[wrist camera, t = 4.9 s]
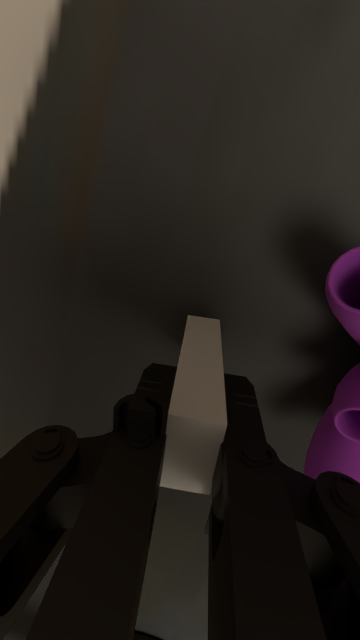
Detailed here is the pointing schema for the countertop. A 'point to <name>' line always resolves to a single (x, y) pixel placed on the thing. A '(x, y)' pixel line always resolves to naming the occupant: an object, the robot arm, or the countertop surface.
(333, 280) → the purple tube coral
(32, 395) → the countertop surface
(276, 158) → the countertop surface
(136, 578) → the robot arm
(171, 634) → the countertop surface
